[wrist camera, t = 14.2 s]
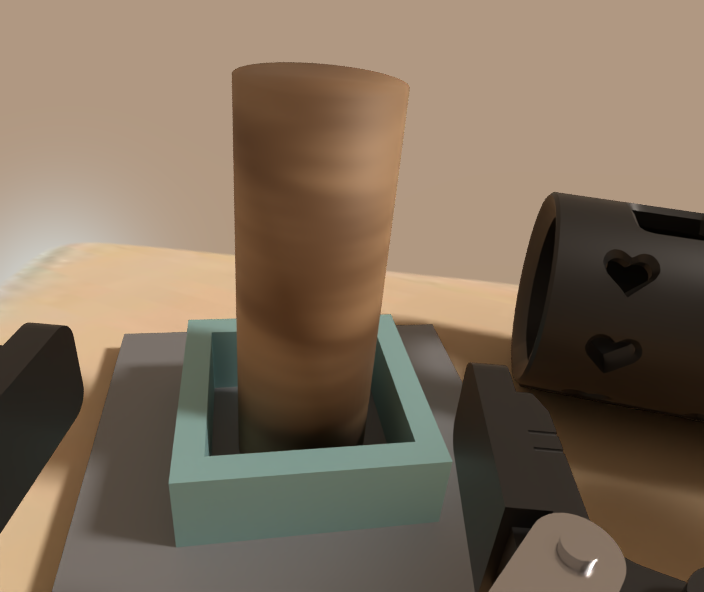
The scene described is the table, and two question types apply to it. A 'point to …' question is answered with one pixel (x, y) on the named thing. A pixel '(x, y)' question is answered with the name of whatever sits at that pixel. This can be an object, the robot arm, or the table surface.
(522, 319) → the muzzle brake
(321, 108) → the walnut peg
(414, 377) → the socket stand
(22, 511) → the table surface
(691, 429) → the table surface
